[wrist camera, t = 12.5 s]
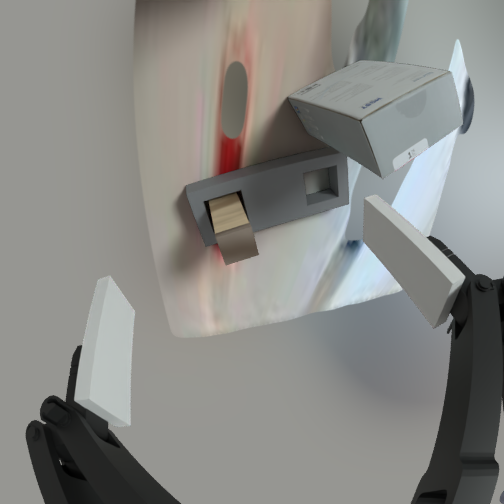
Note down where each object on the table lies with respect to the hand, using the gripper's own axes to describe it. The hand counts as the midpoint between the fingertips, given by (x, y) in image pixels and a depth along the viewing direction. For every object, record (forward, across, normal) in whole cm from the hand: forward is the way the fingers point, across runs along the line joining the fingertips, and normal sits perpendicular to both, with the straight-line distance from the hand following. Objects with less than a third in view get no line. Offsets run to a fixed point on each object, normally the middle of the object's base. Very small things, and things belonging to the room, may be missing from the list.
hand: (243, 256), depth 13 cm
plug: (+32, 0, -13) cm, 34 cm away
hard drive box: (+32, +22, +1) cm, 39 cm away
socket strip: (+32, +8, -13) cm, 35 cm away
